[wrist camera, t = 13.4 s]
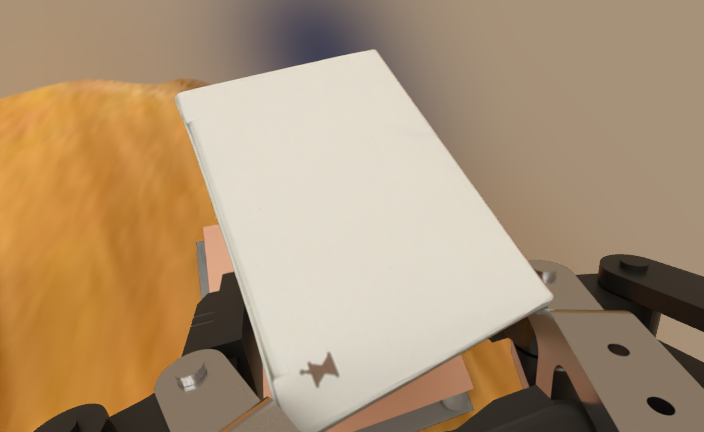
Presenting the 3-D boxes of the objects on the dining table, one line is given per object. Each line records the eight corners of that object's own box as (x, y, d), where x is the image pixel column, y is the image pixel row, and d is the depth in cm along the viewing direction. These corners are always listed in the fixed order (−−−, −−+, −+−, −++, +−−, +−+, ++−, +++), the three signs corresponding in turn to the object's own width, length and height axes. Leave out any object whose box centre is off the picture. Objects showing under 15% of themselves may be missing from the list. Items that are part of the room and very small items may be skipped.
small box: (417, 352, 16) (573, 307, 6) (306, 412, 14) (287, 471, 5) (347, 212, 19) (379, 39, 9) (248, 249, 17) (167, 85, 8)
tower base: (226, 496, 19) (181, 556, 13) (202, 249, 26) (164, 203, 19) (464, 408, 23) (526, 419, 16) (390, 209, 29) (413, 159, 23)
